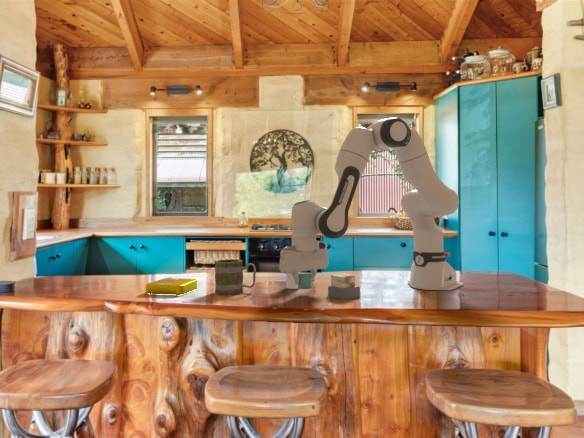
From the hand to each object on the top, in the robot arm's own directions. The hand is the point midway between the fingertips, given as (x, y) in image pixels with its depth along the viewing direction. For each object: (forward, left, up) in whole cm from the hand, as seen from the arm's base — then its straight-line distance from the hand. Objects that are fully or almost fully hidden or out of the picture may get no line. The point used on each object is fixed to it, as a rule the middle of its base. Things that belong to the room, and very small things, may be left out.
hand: (304, 283), depth 148 cm
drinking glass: (-4, -13, -5) cm, 14 cm away
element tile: (+36, -37, -5) cm, 52 cm away
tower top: (-9, +10, -1) cm, 14 cm away
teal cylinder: (0, 0, -2) cm, 2 cm away
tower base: (-10, +10, -5) cm, 15 cm away
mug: (+18, -20, -5) cm, 27 cm away
